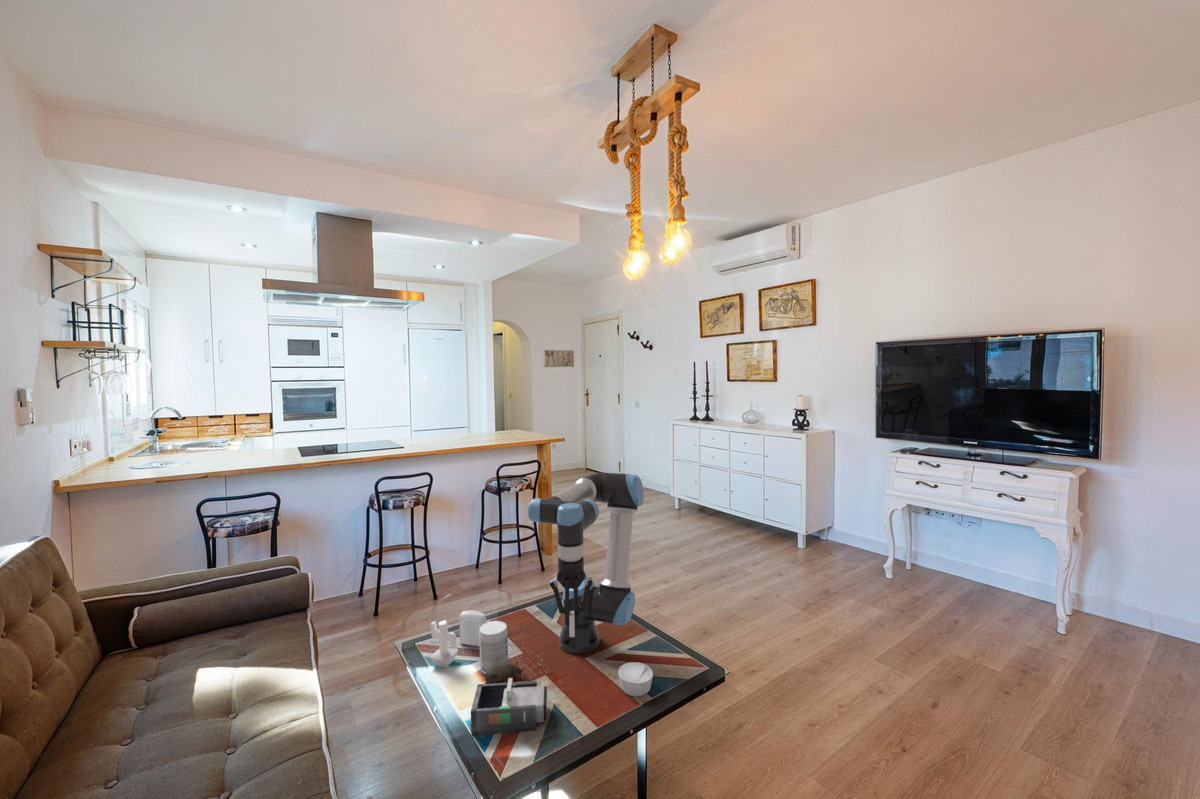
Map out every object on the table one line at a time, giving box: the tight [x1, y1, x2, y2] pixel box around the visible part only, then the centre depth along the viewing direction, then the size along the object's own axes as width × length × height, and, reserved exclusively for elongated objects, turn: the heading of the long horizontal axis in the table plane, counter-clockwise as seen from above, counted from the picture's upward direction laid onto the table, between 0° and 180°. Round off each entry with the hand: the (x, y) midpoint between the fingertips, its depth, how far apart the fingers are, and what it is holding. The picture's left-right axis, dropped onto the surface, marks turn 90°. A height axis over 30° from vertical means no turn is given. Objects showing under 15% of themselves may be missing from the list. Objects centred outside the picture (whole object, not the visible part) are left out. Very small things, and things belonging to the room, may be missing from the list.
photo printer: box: [459, 610, 487, 647], centre depth 185 cm, size 10×4×12 cm, turn 76°
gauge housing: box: [470, 680, 538, 736], centre depth 145 cm, size 18×12×7 cm
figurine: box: [428, 619, 460, 669], centre depth 173 cm, size 7×9×15 cm
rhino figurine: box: [484, 661, 526, 684], centre depth 162 cm, size 4×14×6 cm, turn 116°
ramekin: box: [617, 661, 654, 697], centre depth 159 cm, size 11×11×5 cm
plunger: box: [502, 677, 548, 723], centre depth 146 cm, size 13×9×9 cm
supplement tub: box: [479, 620, 509, 676], centre depth 169 cm, size 10×10×15 cm
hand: (572, 634), depth 146 cm, fingers closed
